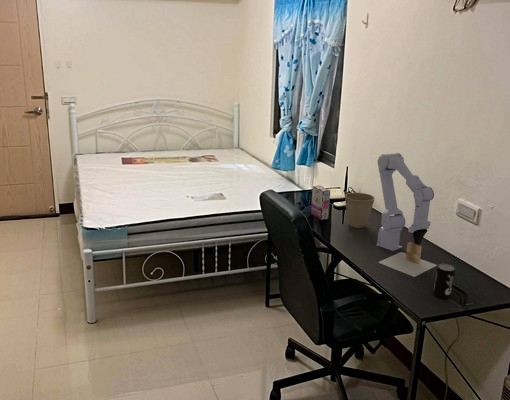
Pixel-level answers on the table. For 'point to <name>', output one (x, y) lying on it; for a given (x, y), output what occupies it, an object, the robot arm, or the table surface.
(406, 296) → the table surface
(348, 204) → the plant pot
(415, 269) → the rubber mat
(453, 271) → the beverage can
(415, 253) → the wood tile
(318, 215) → the candy bar box
